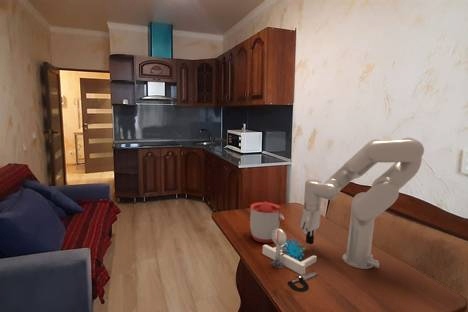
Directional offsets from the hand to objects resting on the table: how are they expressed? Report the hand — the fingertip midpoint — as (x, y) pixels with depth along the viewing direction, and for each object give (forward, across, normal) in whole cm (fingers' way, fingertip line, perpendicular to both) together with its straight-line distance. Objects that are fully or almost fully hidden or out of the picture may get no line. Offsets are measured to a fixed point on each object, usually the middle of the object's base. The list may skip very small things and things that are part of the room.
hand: (309, 242), depth 135 cm
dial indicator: (+4, +21, -1) cm, 22 cm away
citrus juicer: (+4, +7, -22) cm, 23 cm away
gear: (+4, +11, -1) cm, 12 cm away
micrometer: (+5, +24, +14) cm, 28 cm away
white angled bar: (+4, +14, -1) cm, 14 cm away
